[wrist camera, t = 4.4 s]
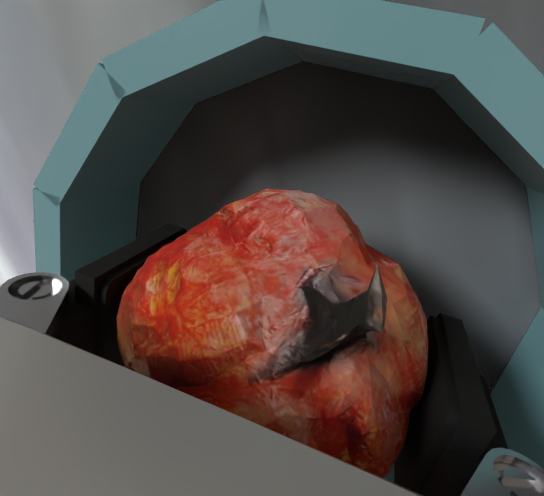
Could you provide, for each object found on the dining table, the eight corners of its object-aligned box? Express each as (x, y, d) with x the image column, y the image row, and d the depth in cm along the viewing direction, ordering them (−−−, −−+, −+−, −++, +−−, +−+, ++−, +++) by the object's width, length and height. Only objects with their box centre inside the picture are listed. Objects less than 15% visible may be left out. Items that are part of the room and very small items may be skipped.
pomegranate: (337, 364, 16) (632, 396, 7) (192, 500, 12) (395, 902, 4) (244, 217, 16) (421, 53, 7) (72, 316, 12) (-31, 252, 3)
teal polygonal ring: (128, -11, 13) (22, -62, 9) (711, 103, 9) (917, 93, 6) (108, 374, 19) (42, 434, 15) (445, 520, 16) (462, 639, 12)
